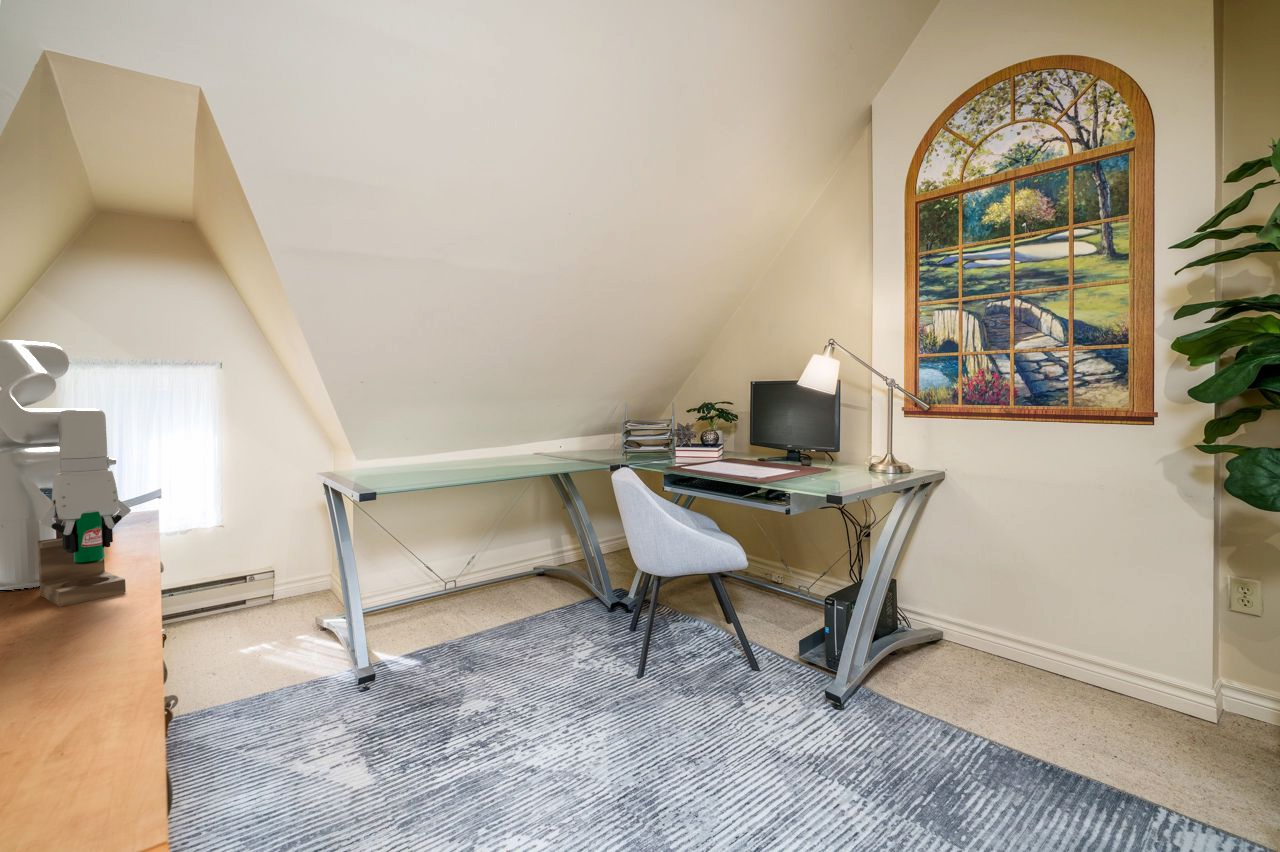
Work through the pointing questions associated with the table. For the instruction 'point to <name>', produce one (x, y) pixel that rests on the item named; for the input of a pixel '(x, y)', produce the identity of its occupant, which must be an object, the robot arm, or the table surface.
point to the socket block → (73, 576)
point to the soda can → (89, 538)
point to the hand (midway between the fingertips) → (88, 548)
